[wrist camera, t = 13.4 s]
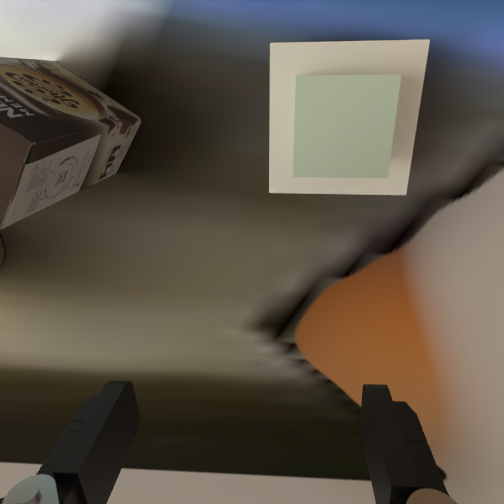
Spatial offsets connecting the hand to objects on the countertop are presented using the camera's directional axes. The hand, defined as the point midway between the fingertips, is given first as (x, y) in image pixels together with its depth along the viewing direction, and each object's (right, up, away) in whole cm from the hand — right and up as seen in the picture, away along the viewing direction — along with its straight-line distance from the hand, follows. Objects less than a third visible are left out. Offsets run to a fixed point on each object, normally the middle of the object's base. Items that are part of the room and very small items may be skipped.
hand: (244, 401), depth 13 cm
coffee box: (-15, +18, +23) cm, 32 cm away
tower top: (+7, +16, +17) cm, 24 cm away
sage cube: (+6, +14, +13) cm, 20 cm away
